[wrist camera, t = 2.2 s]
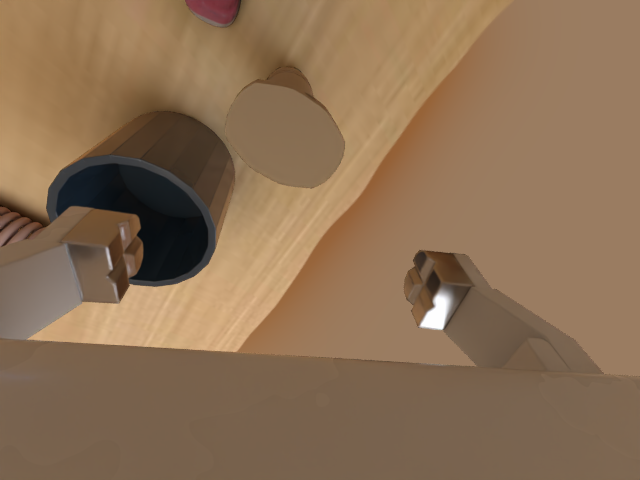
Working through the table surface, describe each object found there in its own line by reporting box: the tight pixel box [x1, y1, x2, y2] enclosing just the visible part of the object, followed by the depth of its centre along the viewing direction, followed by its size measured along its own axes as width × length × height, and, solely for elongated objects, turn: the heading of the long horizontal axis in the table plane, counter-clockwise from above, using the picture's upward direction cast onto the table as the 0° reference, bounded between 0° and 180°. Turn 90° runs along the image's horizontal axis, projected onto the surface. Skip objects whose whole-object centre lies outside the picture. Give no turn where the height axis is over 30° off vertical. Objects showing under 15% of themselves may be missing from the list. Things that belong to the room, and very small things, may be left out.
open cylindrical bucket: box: [46, 111, 235, 287], centre depth 29 cm, size 12×12×11 cm
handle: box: [225, 67, 345, 188], centre depth 23 cm, size 5×6×15 cm
